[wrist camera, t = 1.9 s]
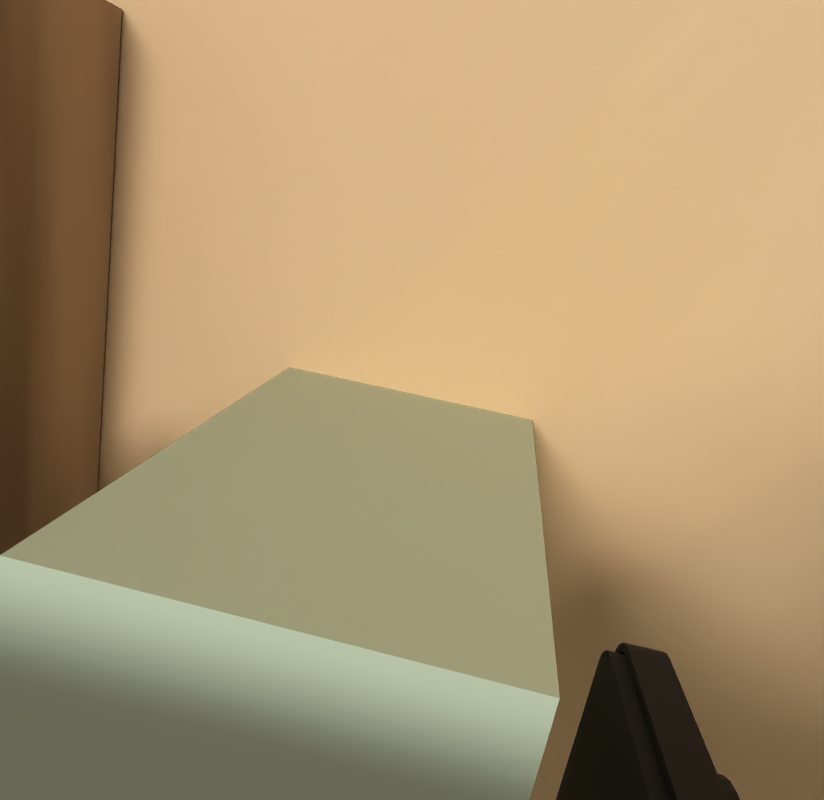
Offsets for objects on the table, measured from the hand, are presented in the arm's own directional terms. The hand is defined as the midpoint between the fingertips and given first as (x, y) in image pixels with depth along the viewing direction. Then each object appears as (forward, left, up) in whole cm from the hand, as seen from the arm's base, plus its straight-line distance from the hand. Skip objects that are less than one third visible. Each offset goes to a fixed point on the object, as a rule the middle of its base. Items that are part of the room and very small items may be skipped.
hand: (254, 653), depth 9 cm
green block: (-1, 0, -5) cm, 5 cm away
